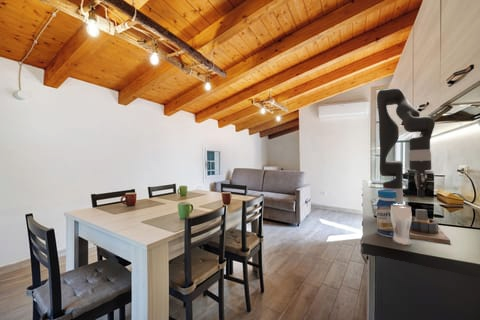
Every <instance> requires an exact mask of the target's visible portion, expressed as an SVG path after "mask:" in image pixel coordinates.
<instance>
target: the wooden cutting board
mask: <svg viewBox="0 0 480 320" xmlns="http://www.w3.org/2000/svg"><path fill="white" fill-rule="evenodd" d="M410 239H415V240H416V239H417V240H422V241H428V242H436V243H441V244H449V245H450V244H451V239H450V238H449V237H448V236H447V235H446V234H445V233H444V231H442V229H441V228H440V227H439V226H438V233H437V234H426V233H419V232H415V231H412V230H410Z"/></svg>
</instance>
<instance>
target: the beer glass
mask: <svg viewBox="0 0 480 320" xmlns="http://www.w3.org/2000/svg"><path fill="white" fill-rule="evenodd" d="M412 214H413V213H412V206H410V205H407V204H403V205H401V204H391V208H390V218H391V223H392V228H393V237H391V238H392V239H391V240H392V242H393V243H395V244H397V245H403V246H410V245H412V241H411V238H410V228H411V223H412V217H413V215H412Z"/></svg>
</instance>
